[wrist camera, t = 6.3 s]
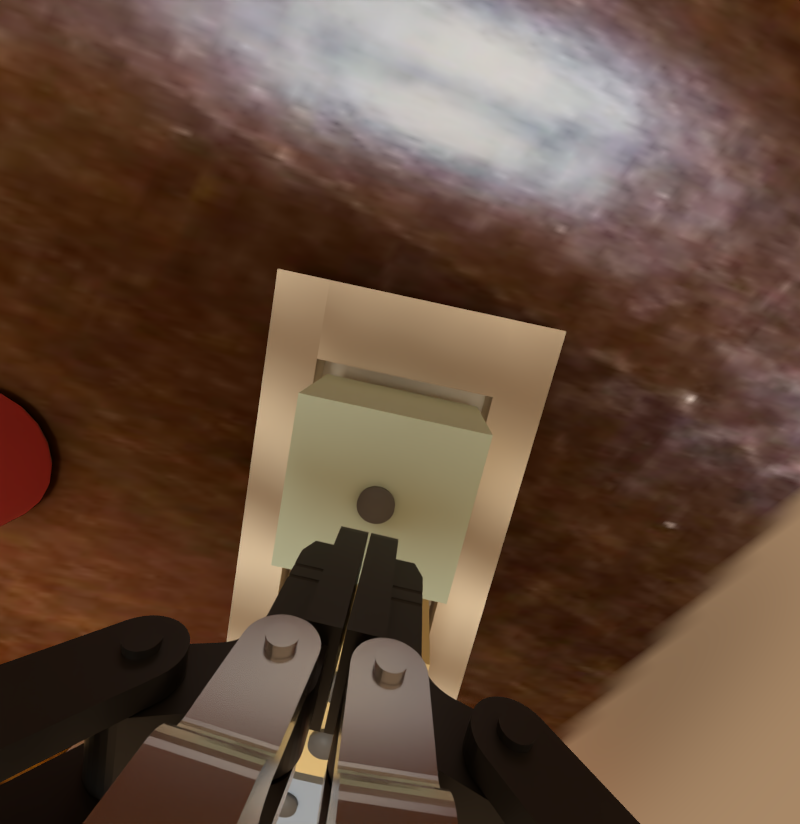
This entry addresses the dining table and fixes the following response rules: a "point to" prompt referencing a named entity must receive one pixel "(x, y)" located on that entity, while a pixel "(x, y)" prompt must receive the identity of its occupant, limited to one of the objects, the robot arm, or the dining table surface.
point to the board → (413, 372)
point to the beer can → (21, 461)
